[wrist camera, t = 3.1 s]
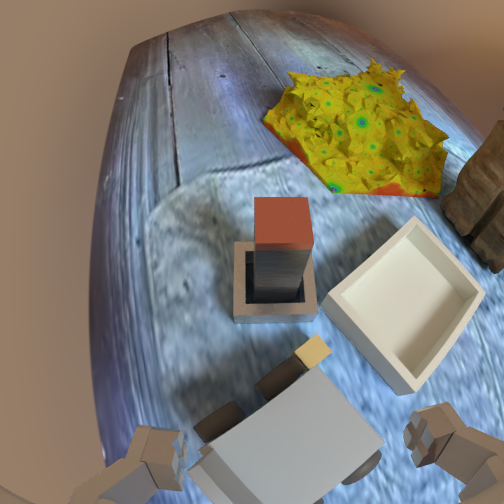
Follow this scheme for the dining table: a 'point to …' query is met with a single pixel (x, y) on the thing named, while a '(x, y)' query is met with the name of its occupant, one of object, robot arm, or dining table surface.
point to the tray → (405, 306)
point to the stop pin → (280, 247)
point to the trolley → (285, 443)
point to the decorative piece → (360, 134)
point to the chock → (312, 352)
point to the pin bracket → (275, 311)
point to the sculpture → (482, 200)
